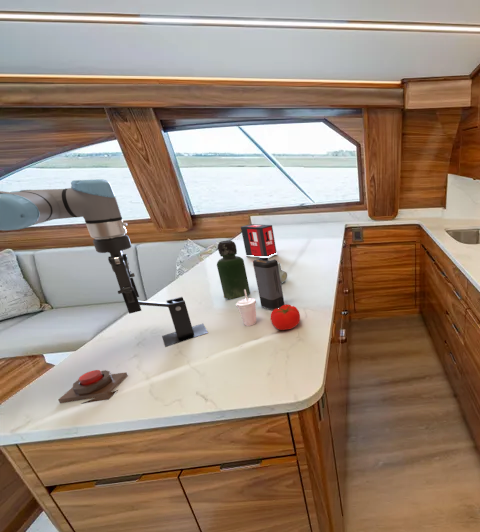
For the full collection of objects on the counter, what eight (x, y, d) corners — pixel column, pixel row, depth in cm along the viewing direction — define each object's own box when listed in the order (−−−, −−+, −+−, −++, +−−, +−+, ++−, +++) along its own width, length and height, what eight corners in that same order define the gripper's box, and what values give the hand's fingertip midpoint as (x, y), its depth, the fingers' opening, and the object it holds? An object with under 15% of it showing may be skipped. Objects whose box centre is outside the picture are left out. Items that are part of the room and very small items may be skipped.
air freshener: (273, 278, 154) (270, 260, 151) (289, 278, 154) (286, 260, 150) (263, 286, 144) (260, 267, 140) (280, 286, 143) (277, 267, 140)
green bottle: (222, 295, 135) (209, 242, 127) (246, 289, 142) (235, 237, 134) (227, 302, 128) (214, 246, 120) (253, 295, 134) (242, 241, 126)
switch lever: (128, 309, 88) (131, 301, 87) (128, 302, 92) (130, 295, 92) (182, 312, 97) (184, 305, 97) (179, 306, 101) (181, 300, 101)
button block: (61, 406, 73) (54, 393, 71) (86, 384, 80) (81, 372, 79) (108, 399, 75) (103, 386, 73) (129, 378, 82) (124, 366, 81)
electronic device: (286, 305, 123) (279, 259, 117) (274, 311, 119) (265, 264, 112) (271, 301, 128) (264, 256, 122) (259, 306, 123) (250, 260, 117)
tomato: (276, 335, 101) (273, 318, 99) (269, 322, 110) (266, 306, 108) (304, 327, 106) (302, 310, 104) (296, 315, 115) (294, 300, 113)
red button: (76, 387, 74) (74, 381, 73) (89, 376, 78) (86, 371, 77) (95, 384, 75) (93, 378, 74) (106, 374, 79) (104, 368, 78)
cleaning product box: (276, 255, 196) (272, 225, 189) (267, 259, 188) (261, 227, 181) (256, 253, 201) (251, 224, 194) (246, 257, 193) (240, 226, 186)
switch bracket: (166, 350, 95) (153, 311, 90) (163, 338, 101) (151, 302, 97) (209, 335, 102) (199, 299, 98) (203, 326, 109) (194, 291, 104)
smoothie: (264, 323, 110) (257, 288, 105) (249, 331, 104) (241, 295, 100) (252, 319, 112) (245, 285, 108) (237, 327, 107) (229, 292, 102)
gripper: (128, 241, 77) (153, 313, 84) (126, 228, 95) (147, 289, 102) (88, 246, 72) (118, 323, 79) (94, 232, 90) (118, 296, 97)
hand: (134, 304), depth 90 cm, fingers open, 13 cm apart
